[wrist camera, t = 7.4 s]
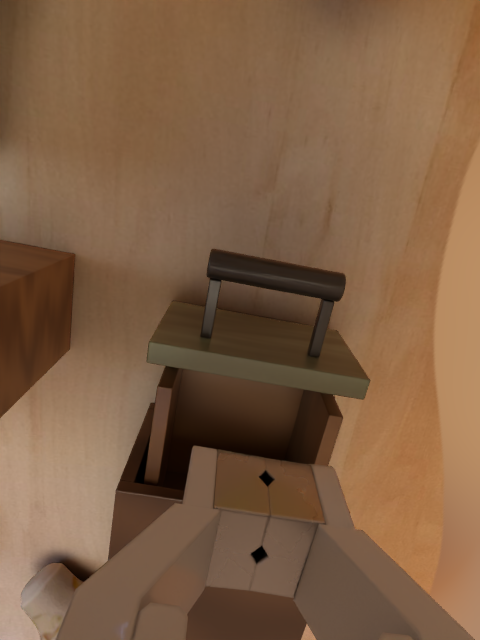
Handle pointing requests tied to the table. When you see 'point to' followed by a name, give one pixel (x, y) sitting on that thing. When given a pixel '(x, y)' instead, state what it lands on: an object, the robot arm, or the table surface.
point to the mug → (49, 598)
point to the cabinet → (214, 603)
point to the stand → (32, 315)
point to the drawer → (249, 373)
